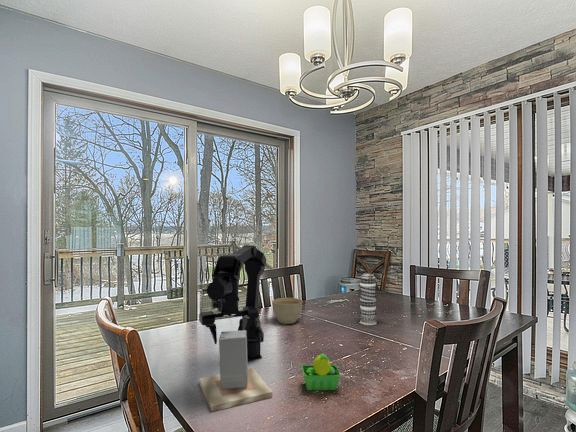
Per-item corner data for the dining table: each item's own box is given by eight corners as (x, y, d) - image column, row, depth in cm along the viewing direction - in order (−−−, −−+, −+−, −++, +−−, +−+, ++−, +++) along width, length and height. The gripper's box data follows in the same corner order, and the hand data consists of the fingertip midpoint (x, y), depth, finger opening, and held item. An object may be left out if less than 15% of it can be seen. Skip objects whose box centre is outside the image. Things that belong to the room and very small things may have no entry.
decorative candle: (373, 326, 165) (372, 276, 165) (356, 323, 170) (355, 274, 171) (380, 322, 172) (379, 273, 173) (363, 319, 178) (363, 272, 178)
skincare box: (248, 378, 106) (248, 329, 106) (247, 389, 99) (247, 336, 99) (221, 379, 105) (221, 329, 106) (218, 391, 98) (218, 337, 99)
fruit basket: (336, 380, 108) (336, 345, 109) (341, 394, 99) (341, 356, 100) (301, 380, 108) (301, 345, 108) (303, 394, 99) (303, 356, 99)
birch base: (252, 372, 114) (252, 367, 114) (272, 396, 98) (272, 391, 98) (199, 383, 106) (199, 378, 107) (211, 411, 90) (211, 405, 90)
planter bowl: (303, 317, 181) (303, 297, 181) (301, 326, 165) (301, 304, 165) (274, 317, 183) (274, 297, 183) (269, 325, 166) (269, 304, 167)
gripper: (248, 286, 120) (248, 330, 119) (196, 291, 112) (196, 338, 111) (259, 292, 110) (259, 340, 109) (202, 298, 101) (202, 349, 101)
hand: (229, 341), depth 108 cm, fingers open, 9 cm apart
